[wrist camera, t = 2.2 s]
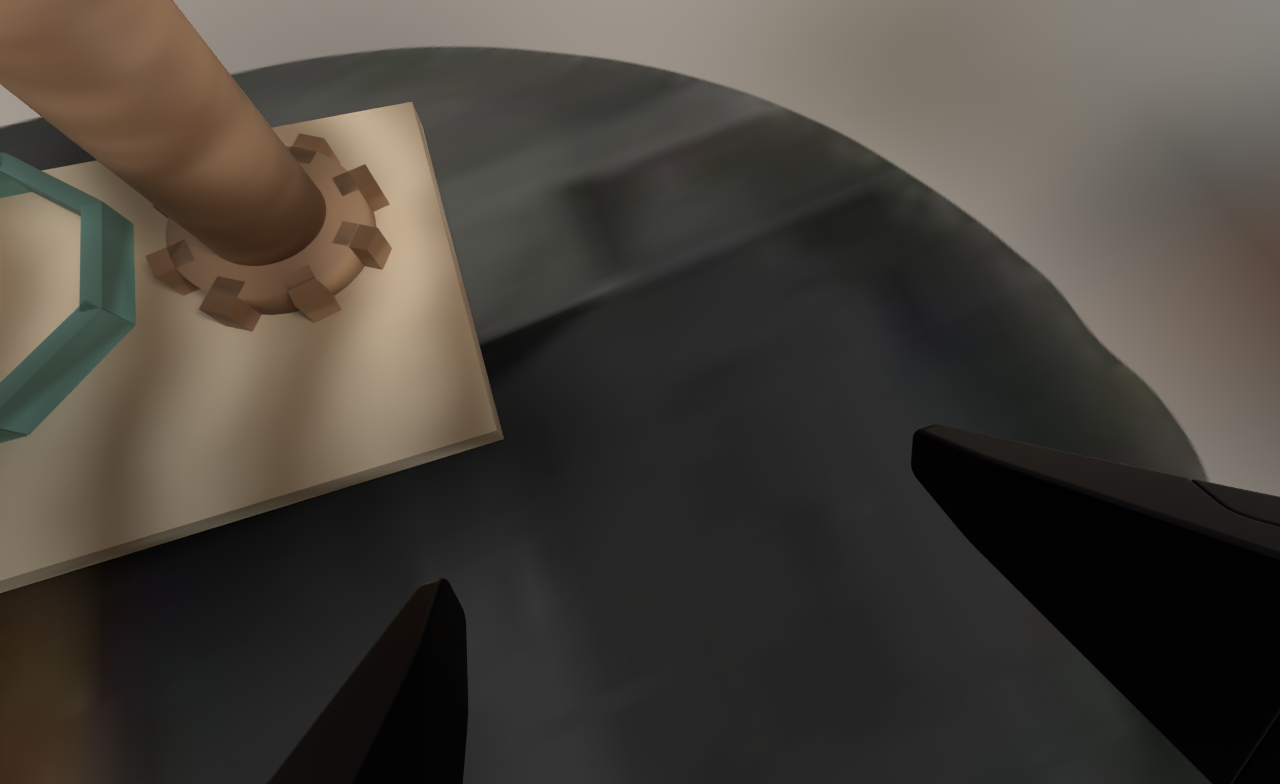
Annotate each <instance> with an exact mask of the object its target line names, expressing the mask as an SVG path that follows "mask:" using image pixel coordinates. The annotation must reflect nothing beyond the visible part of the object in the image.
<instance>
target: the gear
mask: <svg viewBox="0 0 1280 784" xmlns="http://www.w3.org/2000/svg"><path fill="white" fill-rule="evenodd" d="M0 84H1V85H2V86H4V87H5V88H6V89H7V90H9V91H10V92H11V93H13V94H14V95H15V96H16V97H18V98H19V99H20V100H21V101H23V102H24V103H25V104H26V105H28V106H29V107H30V108H31V109H33V110H34V111H35V112H37V113H38V114H39V115H40V116H42V117H43V118H44V119H45V120H47V121H48V122H49V123H51V124H52V125H53V126H54V127H56V128H57V129H58V130H59V131H61V132H62V133H63V134H64V135H66V136H67V137H68V138H70V139H71V140H72V141H73V142H75V143H76V144H77V145H78V146H80V147H81V148H82V149H84V150H85V151H86V152H87V153H89V154H90V155H91V156H92V157H94V158H95V159H96V160H97V161H99V162H100V163H101V164H103V165H104V166H105V167H106V168H108V169H109V170H110V171H111V172H113V173H114V174H115V175H117V176H118V177H119V178H120V179H122V180H123V181H124V182H125V183H127V184H128V185H129V186H131V187H132V188H133V189H134V190H136V191H137V192H138V193H139V194H141V195H142V196H143V197H144V198H146V199H147V200H148V201H150V202H151V203H152V204H153V206H152V207H154V208H155V209H156V210H158V211H159V212H160V213H161V214H163V215H164V216H165V217H166V218H168V221H167V226H166V238H165V239H166V246H167V247H166V248H163V249H161V250H158V251H156V252H154V253H151V254H149V255H146V256H145V257H146V259H147V261H148V264H149V266H150V268H151V271H152V273H153V275H154V277H155V278H156V279H158V280H160V281H161V282H163V283H164V284H166V285H168V286H169V287H171V288H172V289H174V290H176V291H177V292H179V293H180V294H182V295H183V296H185V295H187V294H189V293H192V292H194V291H196V290H199V289H202V290H203V291H205V292H206V293H207V295H206V297H205V299H204V300H203V302H202V304H201V306H200V307H199V310H201V311H202V312H204V313H205V314H207V315H209V316H210V317H212V318H214V319H215V320H217V321H218V322H220V323H222V324H223V325H225V326H228V327H233V328H237V329H242V330H247V331H252V332H253V330H254V328H255V326H256V324H257V323H258V321H259V319H260V317H261V315H277V314H287V313H292V312H297V311H302V312H303V313H304V314H305V315H306V316H308V317H309V318H310V319H311V320H313V321H314V322H315V323H316V322H318V321H320V320H322V319H324V318H326V317H328V316H330V315H333V314H335V313H337V312H339V311H341V310H342V309H341V308H340V306H339V304H338V302H337V300H336V298H335V297H334V296H335V295H336V294H337V293H339V292H340V291H342V290H343V289H344V288H345V287H347V286H348V285H349V284H350V283H351V282H352V281H353V280H354V279H355V278H356V277H357V276H358V275H359V274H360V272H361V271H362V270H363V268H364V267H365V266H366V267H371V268H376V269H381V270H383V268H384V266H385V264H386V262H387V259H388V257H389V255H390V252H391V250H392V248H391V246H390V245H389V243H388V242H387V240H386V239H385V237H384V236H383V234H382V233H381V232H380V230H379V229H378V228H377V227H376V219H375V215H374V211H377V210H379V209H381V208H383V207H386V206H388V205H390V204H389V202H388V200H387V199H386V197H385V195H384V194H383V192H382V190H381V189H380V187H379V185H378V184H377V182H376V181H375V179H374V177H373V176H372V174H371V172H370V171H369V169H368V168H367V166H366V164H364V165H362V166H359V167H357V168H355V169H352V170H350V171H347V170H346V169H345V168H344V167H343V166H342V165H340V161H339V160H338V158H337V157H336V155H335V154H334V152H333V151H332V149H331V148H330V146H329V145H328V143H327V142H326V140H325V139H324V138H321V137H316V136H311V135H306V134H301V133H299V135H298V136H297V138H296V140H295V142H294V143H293V145H292V147H288V146H285V145H284V143H283V142H282V141H281V140H280V138H279V137H278V136H277V134H276V133H275V132H274V130H273V129H272V128H271V127H270V125H269V124H268V123H267V121H266V120H265V119H264V118H263V116H262V115H261V114H260V112H259V111H258V110H257V109H256V107H255V106H254V105H253V103H252V102H251V101H250V99H249V98H248V97H247V96H246V94H245V93H244V92H243V90H242V89H241V88H240V87H239V85H238V84H237V83H236V81H235V80H234V79H233V78H232V76H231V75H230V74H229V72H228V71H227V70H226V68H225V67H224V66H223V65H222V63H221V62H220V61H219V60H218V58H217V57H216V56H215V54H214V53H213V52H212V50H211V49H210V48H209V47H208V45H207V44H206V43H205V41H204V40H203V39H202V37H201V36H200V35H199V34H198V32H197V31H196V30H195V28H194V27H193V26H192V25H191V23H190V22H189V21H188V20H187V18H186V17H185V16H184V14H183V13H182V12H181V10H180V9H179V8H178V7H177V5H176V4H175V3H174V1H173V0H0Z"/></svg>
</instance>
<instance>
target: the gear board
mask: <svg viewBox="0 0 1280 784" xmlns="http://www.w3.org/2000/svg"><path fill="white" fill-rule="evenodd" d="M272 129H273V130H274V132H275V133H276V134H277V136H278V137H279V138H280V140H281V141H282V142H283V143H284V145H285V146H288V147H292V145H293V143H294V142H295V140H296V138H297V136H298V135H299V133H301V134H306V135H311V136H316V137H321V138H324V139H325V140H326V142H327V143H328V145H329V146H330V148H331V149H332V151H333V152H334V154H335V155H336V157H337V158H338V160H339V161H340V165H342V166H343V167H344V168H345V169H346V170H347V171H350V170H352V169H355V168H357V167H359V166H362V165H364V164H366V166H367V168H368V169H369V171H370V172H371V174H372V176H373V177H374V179H375V181H376V182H377V184H378V185H379V187H380V189H381V190H382V192H383V194H384V195H385V197H386V199H387V200H388V202H389V204H390V205H388V206H386V207H383V208H381V209H379V210H377V211H374V215H375V219H376V227H377V228H378V229H379V230H380V232H381V233H382V234H383V236H384V237H385V239H386V240H387V242H388V243H389V245H390V246H391V248H392V250H391V252H390V255H389V257H388V259H387V262H386V264H385V266H384V268H383V270H381V269H376V268H371V267H366V266H365V267H364V268H363V270H362V271H361V272H360V274H359V275H358V276H357V277H356V278H355V279H354V280H353V281H352V282H351V283H350V284H349V285H348V286H347V287H345V288H344V289H343V290H342V291H340V292H339V293H337V294H336V295H335V296H334V297H335V298H336V300H337V302H338V304H339V306H340V308H341V309H342V310H341V311H339V312H337V313H335V314H333V315H330V316H328V317H326V318H324V319H322V320H320V321H318V322H316V323H315V322H314V321H313V320H311V319H310V318H309V317H308V316H306V315H305V314H304V313H303V312H302V311H297V312H292V313H287V314H277V315H261V317H260V319H259V321H258V323H257V324H256V326H255V328H254V330H253V332H252V331H247V330H242V329H237V328H233V327H228V326H225V325H223V324H222V323H220V322H218V321H217V320H215V319H214V318H212V317H210V316H209V315H207V314H205V313H204V312H202V311H201V310H199V307H200V306H201V304H202V302H203V300H204V299H205V297H206V295H207V293H206V292H205V291H203V290H202V289H199V290H196V291H194V292H192V293H189V294H187V295H185V296H183V295H182V294H180V293H179V292H177V291H176V290H174V289H172V288H171V287H169V286H168V285H166V284H164V283H163V282H161V281H160V280H158V279H156V278H155V277H154V275H153V273H152V271H151V268H150V266H149V264H148V261H147V259H146V257H145V256H146V255H149V254H151V253H154V252H156V251H158V250H161V249H163V248H166V247H167V246H166V239H165V238H166V226H167V221H168V218H166V217H165V216H164V215H163V214H161V213H160V212H159V211H158V210H156V209H155V208H154V207H152V206H153V204H152V203H151V202H150V201H148V200H147V199H146V198H144V197H143V196H142V195H141V194H139V193H138V192H137V191H136V190H134V189H133V188H132V187H131V186H129V185H128V184H127V183H125V182H124V181H123V180H122V179H120V178H119V177H118V176H117V175H115V174H114V173H113V172H111V171H110V170H109V169H108V168H106V167H105V166H104V165H103V164H101V163H100V162H99V161H91V162H86V163H80V164H75V165H70V166H64V167H59V168H54V169H48V170H43V171H41V170H39V169H37V168H35V167H33V166H31V165H29V164H27V163H25V162H23V161H21V160H19V159H17V158H15V157H13V156H11V155H9V154H7V153H5V152H4V153H3V152H1V153H0V593H3V592H6V591H9V590H13V589H16V588H19V587H22V586H26V585H29V584H32V583H35V582H39V581H42V580H45V579H49V578H52V577H55V576H58V575H62V574H65V573H68V572H71V571H75V570H78V569H81V568H84V567H88V566H91V565H94V564H98V563H101V562H104V561H107V560H111V559H114V558H117V557H120V556H124V555H127V554H130V553H133V552H137V551H140V550H143V549H146V548H150V547H153V546H156V545H160V544H163V543H166V542H169V541H173V540H176V539H179V538H182V537H186V536H189V535H192V534H195V533H199V532H202V531H205V530H209V529H212V528H215V527H218V526H222V525H225V524H228V523H231V522H235V521H238V520H241V519H244V518H248V517H251V516H254V515H257V514H261V513H264V512H267V511H271V510H274V509H277V508H280V507H284V506H287V505H290V504H293V503H297V502H300V501H303V500H306V499H310V498H313V497H316V496H320V495H323V494H326V493H329V492H333V491H336V490H339V489H342V488H346V487H349V486H352V485H355V484H359V483H362V482H365V481H369V480H372V479H375V478H378V477H382V476H385V475H388V474H391V473H395V472H398V471H401V470H404V469H408V468H411V467H414V466H417V465H421V464H424V463H427V462H431V461H434V460H437V459H440V458H444V457H447V456H450V455H453V454H457V453H460V452H463V451H466V450H470V449H473V448H476V447H480V446H483V445H486V444H489V443H493V442H496V441H499V440H502V439H504V437H503V433H502V430H501V426H500V422H499V418H498V414H497V411H496V407H495V403H494V399H493V395H492V391H491V388H490V384H489V380H488V376H487V372H486V368H485V365H484V361H483V357H482V353H481V349H480V345H479V342H478V338H477V334H476V330H475V326H474V323H473V319H472V315H471V311H470V307H469V303H468V300H467V296H466V292H465V288H464V284H463V280H462V277H461V273H460V269H459V265H458V261H457V257H456V254H455V250H454V246H453V242H452V238H451V235H450V231H449V227H448V223H447V219H446V215H445V212H444V208H443V204H442V200H441V196H440V192H439V189H438V185H437V181H436V177H435V173H434V169H433V166H432V162H431V158H430V154H429V150H428V147H427V143H426V139H425V135H424V131H423V127H422V124H421V122H420V120H419V117H418V115H417V113H416V110H415V108H414V106H413V103H412V102H408V103H403V104H397V105H392V106H387V107H381V108H376V109H371V110H365V111H360V112H354V113H349V114H344V115H338V116H333V117H328V118H322V119H317V120H311V121H306V122H301V123H295V124H290V125H285V126H279V127H274V128H272Z"/></svg>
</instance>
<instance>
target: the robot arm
mask: <svg viewBox="0 0 1280 784" xmlns="http://www.w3.org/2000/svg"><path fill="white" fill-rule="evenodd" d="M911 467H912V471H913V473H914V475H915V477H916V478H917V479H918V481H919V482H920V483H921V484H922V486H923V487H924V488H925V489H926V490H927V492H928V493H929V494H930V495H931V496H932V498H933V499H934V500H935V501H936V502H937V504H938V505H939V506H940V507H941V508H942V510H943V511H944V512H945V513H946V514H947V516H948V517H949V518H950V519H951V520H952V522H953V523H954V524H955V525H956V526H957V528H958V529H959V530H960V531H961V532H962V533H963V535H964V536H965V537H966V538H967V539H968V540H969V541H970V542H971V543H972V544H973V545H974V547H975V548H976V549H977V550H978V551H979V552H980V553H981V554H982V555H983V556H984V557H985V558H986V559H987V560H988V561H989V562H990V563H991V564H992V565H993V566H994V567H995V568H996V569H997V570H998V571H999V572H1000V573H1001V574H1002V575H1003V576H1004V577H1005V578H1006V579H1007V580H1008V581H1009V582H1010V583H1011V584H1012V585H1013V586H1014V587H1015V588H1016V589H1017V590H1018V591H1019V592H1020V593H1021V594H1022V595H1023V596H1024V597H1025V598H1026V599H1027V600H1028V601H1029V602H1030V603H1031V604H1032V605H1033V606H1034V607H1035V608H1036V609H1037V610H1038V611H1039V612H1040V613H1041V614H1042V615H1043V616H1044V617H1045V618H1046V619H1047V620H1048V621H1049V622H1050V623H1051V624H1052V625H1053V626H1054V627H1055V628H1056V629H1057V630H1058V631H1059V632H1060V633H1061V634H1062V635H1063V636H1064V637H1065V638H1066V639H1067V640H1068V641H1069V642H1070V643H1071V644H1072V645H1074V646H1075V647H1076V648H1077V649H1078V650H1079V651H1080V652H1081V653H1082V654H1083V655H1084V656H1085V657H1086V658H1087V659H1088V660H1089V661H1090V662H1091V663H1092V664H1093V665H1094V666H1095V667H1096V668H1097V669H1098V670H1099V671H1100V672H1101V673H1102V674H1103V675H1104V676H1105V677H1106V678H1107V679H1108V680H1109V681H1110V682H1111V683H1112V684H1113V685H1114V686H1115V687H1116V688H1117V689H1118V690H1119V691H1120V692H1121V693H1122V694H1123V695H1124V696H1125V697H1126V698H1127V699H1128V700H1129V701H1130V702H1131V703H1132V704H1133V705H1134V706H1135V707H1136V708H1137V709H1138V710H1139V711H1140V712H1141V713H1142V714H1143V715H1144V716H1145V717H1146V718H1147V719H1148V720H1149V721H1150V722H1151V723H1152V724H1153V725H1154V726H1155V727H1156V728H1157V729H1158V730H1159V731H1160V732H1161V733H1162V734H1163V735H1164V736H1165V737H1166V738H1167V739H1168V740H1169V741H1170V742H1171V743H1172V744H1173V745H1174V746H1175V747H1176V748H1177V749H1178V750H1179V751H1180V752H1181V753H1182V754H1183V755H1184V756H1185V757H1186V758H1187V759H1188V760H1189V761H1190V762H1191V763H1192V764H1193V765H1194V766H1195V767H1196V768H1197V769H1198V770H1199V771H1200V772H1201V773H1202V774H1203V775H1204V776H1205V777H1206V778H1207V779H1208V780H1209V781H1210V782H1211V783H1212V784H1280V497H1278V496H1273V495H1268V494H1263V493H1258V492H1253V491H1248V490H1243V489H1238V488H1234V487H1228V486H1224V485H1219V484H1214V483H1210V482H1205V481H1201V480H1196V479H1194V480H1190V479H1188V478H1186V477H1181V476H1177V475H1172V474H1167V473H1163V472H1158V471H1153V470H1148V469H1144V468H1139V467H1134V466H1130V465H1125V464H1120V463H1116V462H1111V461H1106V460H1102V459H1097V458H1092V457H1087V456H1083V455H1078V454H1073V453H1069V452H1064V451H1059V450H1055V449H1050V448H1045V447H1041V446H1036V445H1031V444H1027V443H1022V442H1017V441H1012V440H1008V439H1003V438H998V437H994V436H989V435H984V434H980V433H975V432H970V431H966V430H961V429H956V428H951V427H947V426H942V425H931V426H928V427H925V428H922V429H919V430H917V431H916V432H915V433H914V435H913V443H912V457H911ZM467 723H468V677H467V640H466V619H465V614H464V611H463V608H462V606H461V604H460V602H459V600H458V598H457V597H456V595H455V593H454V591H453V589H452V587H451V585H450V583H449V582H448V581H447V580H446V579H444V578H440V579H437V580H433V581H430V582H427V583H424V584H422V585H420V586H419V587H418V588H417V589H416V591H415V592H414V593H413V594H412V596H411V597H410V598H409V600H408V601H407V602H406V604H405V605H404V606H403V607H402V609H401V610H400V611H399V613H398V614H397V615H396V616H395V618H394V619H393V620H392V622H391V623H390V624H389V626H388V627H387V628H386V629H385V631H384V632H383V633H382V635H381V636H380V637H379V639H378V640H377V641H376V642H375V644H374V645H373V646H372V648H371V649H370V650H369V652H368V653H367V654H366V655H365V657H364V658H363V659H362V661H361V662H360V663H359V665H358V666H357V667H356V668H355V670H354V671H353V672H352V674H351V675H350V676H349V677H348V679H347V680H346V681H345V683H344V684H343V685H342V687H341V688H340V689H339V690H338V692H337V693H336V694H335V696H334V697H333V698H332V700H331V701H330V702H329V703H328V705H327V706H326V707H325V709H324V710H323V711H322V713H321V714H320V715H319V716H318V718H317V719H316V720H315V722H314V723H313V724H312V725H311V727H310V728H309V729H308V731H307V732H306V733H305V735H304V736H303V737H302V738H301V740H300V741H299V742H298V744H297V745H296V746H295V748H294V749H293V750H292V751H291V753H290V754H289V755H288V757H287V758H286V759H285V761H284V762H283V763H282V764H281V766H280V767H279V768H278V770H277V771H276V772H275V773H274V775H273V776H272V777H271V779H270V780H269V781H268V783H267V784H463V773H464V761H465V749H466V737H467Z"/></svg>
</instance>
